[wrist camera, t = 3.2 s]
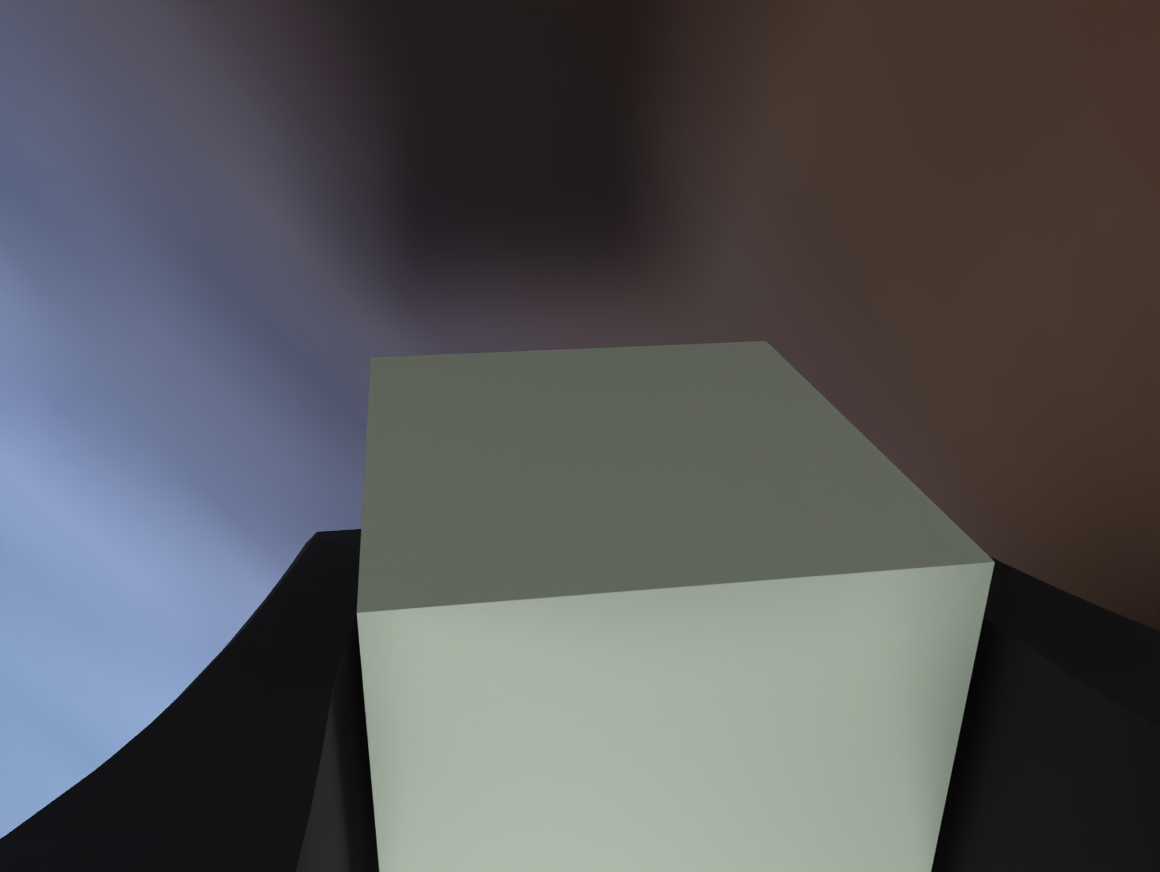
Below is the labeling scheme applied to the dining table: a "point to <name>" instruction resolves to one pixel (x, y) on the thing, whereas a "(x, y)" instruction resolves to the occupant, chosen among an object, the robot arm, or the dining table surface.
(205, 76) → the dining table surface
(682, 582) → the sage cube
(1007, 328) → the dining table surface
